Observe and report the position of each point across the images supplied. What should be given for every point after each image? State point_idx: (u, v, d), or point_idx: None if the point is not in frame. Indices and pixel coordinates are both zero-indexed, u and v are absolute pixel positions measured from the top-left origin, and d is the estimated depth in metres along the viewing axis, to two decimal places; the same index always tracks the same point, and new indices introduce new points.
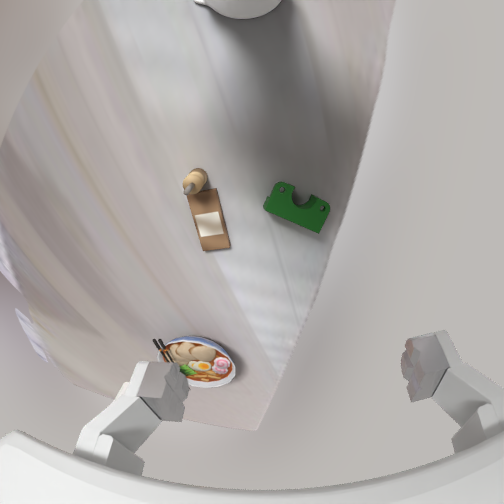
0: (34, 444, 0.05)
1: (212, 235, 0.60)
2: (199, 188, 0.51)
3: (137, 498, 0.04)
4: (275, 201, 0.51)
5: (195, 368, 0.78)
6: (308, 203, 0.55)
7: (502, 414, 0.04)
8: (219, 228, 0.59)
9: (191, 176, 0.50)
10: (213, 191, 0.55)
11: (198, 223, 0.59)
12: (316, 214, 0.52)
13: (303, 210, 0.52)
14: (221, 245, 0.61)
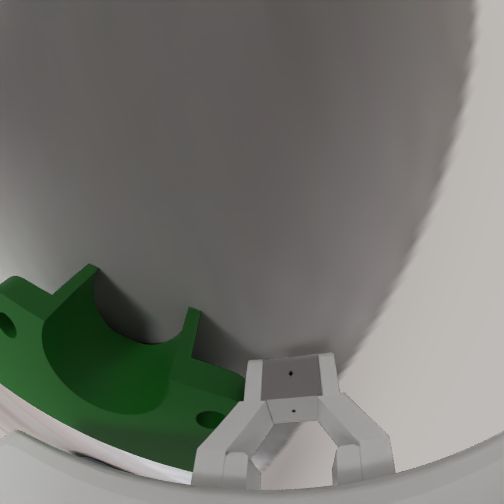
0: (34, 445, 0.05)
1: None
2: None
3: (138, 498, 0.04)
4: (9, 365, 0.08)
5: None
6: (169, 354, 0.11)
7: (370, 460, 0.05)
8: None
9: None
10: None
11: None
12: (183, 435, 0.09)
13: (117, 416, 0.09)
14: None
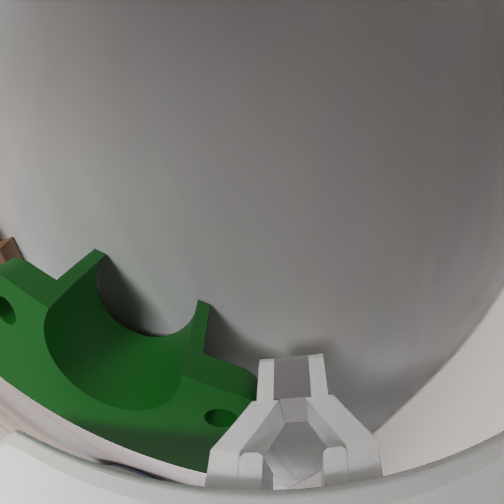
0: (33, 445, 0.05)
1: None
2: None
3: (138, 498, 0.04)
4: (4, 352, 0.07)
5: None
6: (175, 348, 0.11)
7: (357, 463, 0.05)
8: None
9: None
10: None
11: None
12: (188, 433, 0.09)
13: (120, 411, 0.08)
14: None
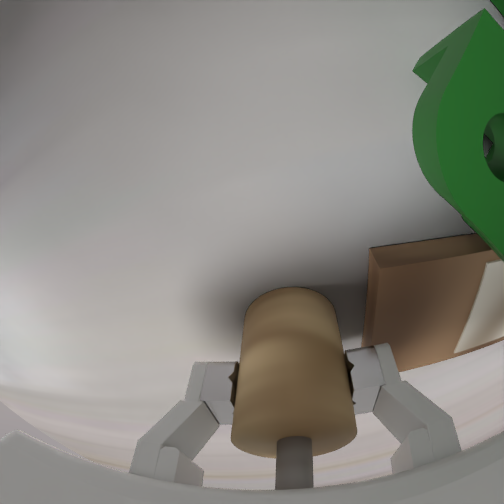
0: (34, 444, 0.05)
1: None
2: (328, 423, 0.06)
3: (138, 498, 0.04)
4: None
5: None
6: None
7: (438, 441, 0.05)
8: None
9: (237, 440, 0.07)
10: (384, 281, 0.08)
11: (485, 339, 0.10)
12: None
13: None
14: None
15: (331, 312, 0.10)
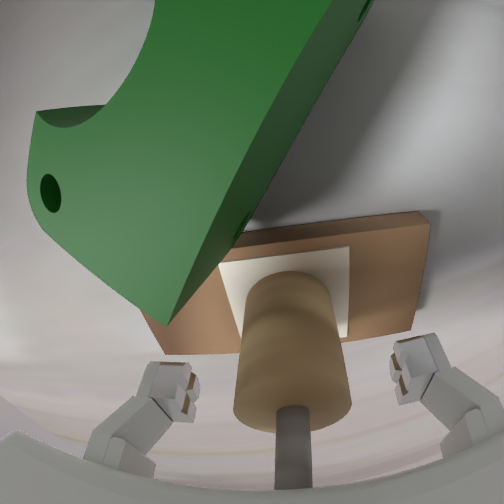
0: (33, 444, 0.05)
1: (352, 297, 0.12)
2: (324, 390, 0.07)
3: (138, 498, 0.04)
4: (107, 246, 0.06)
5: None
6: None
7: (490, 420, 0.04)
8: (316, 263, 0.11)
9: (239, 411, 0.08)
10: None
11: None
12: None
13: (163, 9, 0.04)
14: (411, 261, 0.11)
15: (326, 294, 0.11)
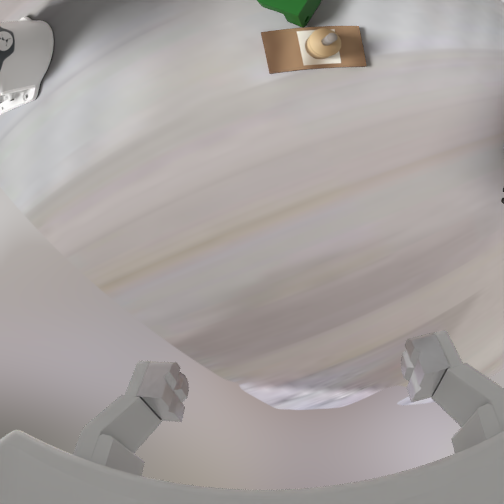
0: (34, 445, 0.05)
1: None
2: (333, 33, 0.24)
3: (138, 497, 0.04)
4: (285, 2, 0.23)
5: None
6: None
7: (502, 414, 0.04)
8: None
9: (311, 39, 0.25)
10: (263, 35, 0.29)
11: (317, 62, 0.30)
12: None
13: None
14: (355, 36, 0.28)
15: None
